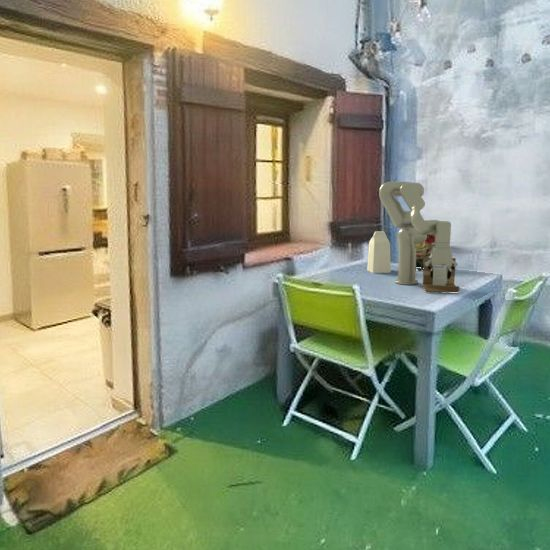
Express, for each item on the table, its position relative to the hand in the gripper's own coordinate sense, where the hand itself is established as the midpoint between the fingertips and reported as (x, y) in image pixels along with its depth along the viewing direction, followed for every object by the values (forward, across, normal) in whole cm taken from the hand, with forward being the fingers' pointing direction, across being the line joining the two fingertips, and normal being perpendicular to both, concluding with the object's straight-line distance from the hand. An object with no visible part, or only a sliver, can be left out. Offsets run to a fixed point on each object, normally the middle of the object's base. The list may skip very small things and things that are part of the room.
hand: (440, 278), depth 245 cm
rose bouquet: (+7, -4, +67) cm, 67 cm away
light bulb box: (+3, 0, 0) cm, 3 cm away
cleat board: (+6, 0, 0) cm, 6 cm away
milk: (+7, -31, +54) cm, 62 cm away
